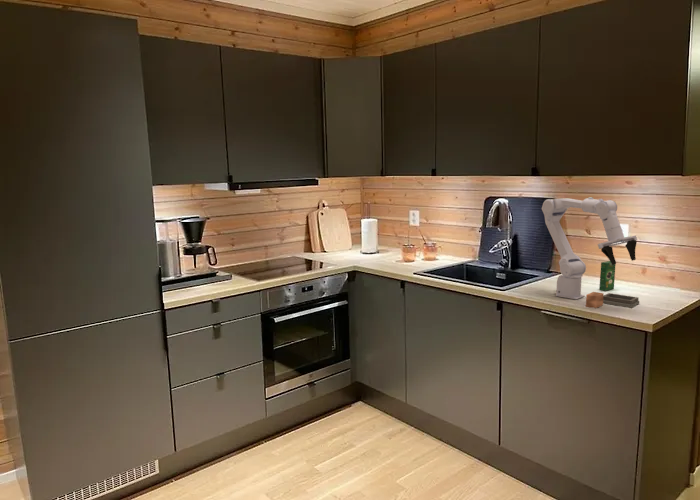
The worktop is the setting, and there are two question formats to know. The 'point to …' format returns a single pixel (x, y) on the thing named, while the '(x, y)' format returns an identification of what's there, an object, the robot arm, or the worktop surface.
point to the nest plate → (620, 300)
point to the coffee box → (607, 276)
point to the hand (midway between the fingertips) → (624, 262)
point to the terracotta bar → (594, 299)
